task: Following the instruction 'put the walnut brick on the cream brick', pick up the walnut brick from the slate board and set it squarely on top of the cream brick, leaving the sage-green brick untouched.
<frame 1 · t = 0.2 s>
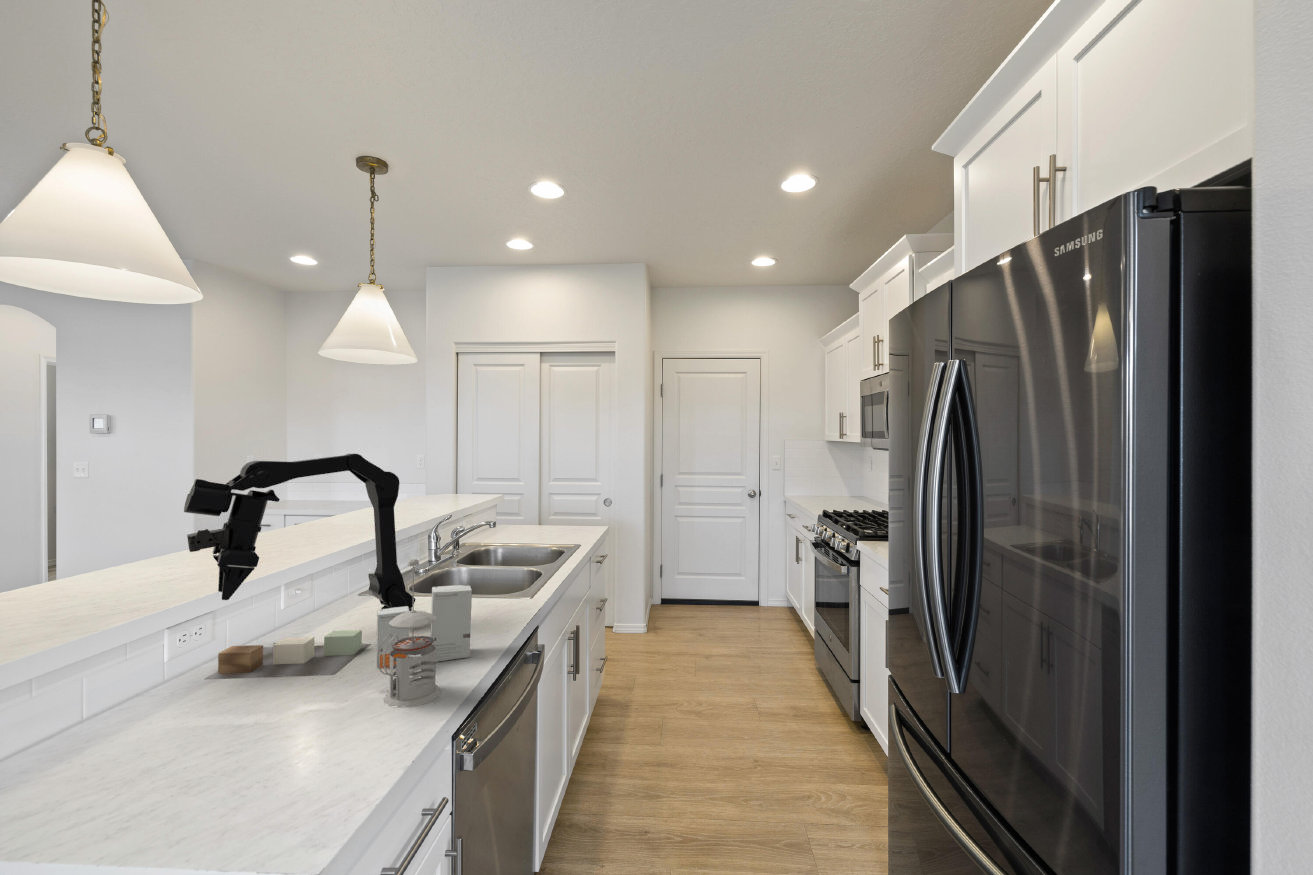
hand: (223, 595, 114), 15 cm above the worktop, tool pointing down, fingers open, 9 cm apart
sage brick: (343, 651, 121), point 1 cm above the worktop, touching slate board
skincare box: (392, 669, 115), on the worktop
walnut brick: (241, 669, 112), point 1 cm above the worktop, touching slate board
french press: (408, 697, 102), on the worktop
cream brick: (294, 660, 117), point 1 cm above the worktop, touching slate board
slate board: (294, 665, 117), on the worktop
skincare box 2: (450, 656, 122), on the worktop
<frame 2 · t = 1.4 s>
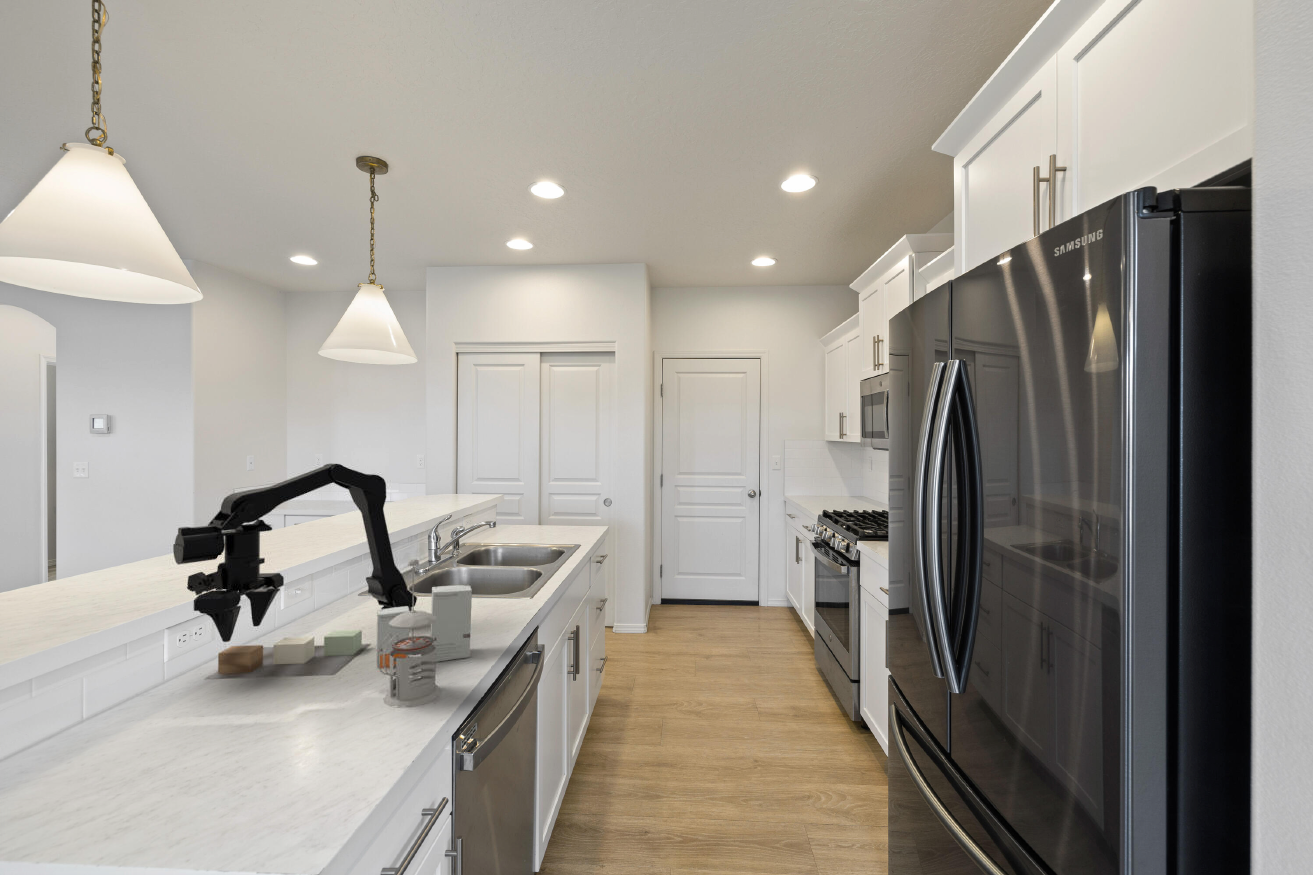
hand: (242, 633, 112), 8 cm above the worktop, tool pointing down, fingers open, 9 cm apart
nothing on the worktop moved.
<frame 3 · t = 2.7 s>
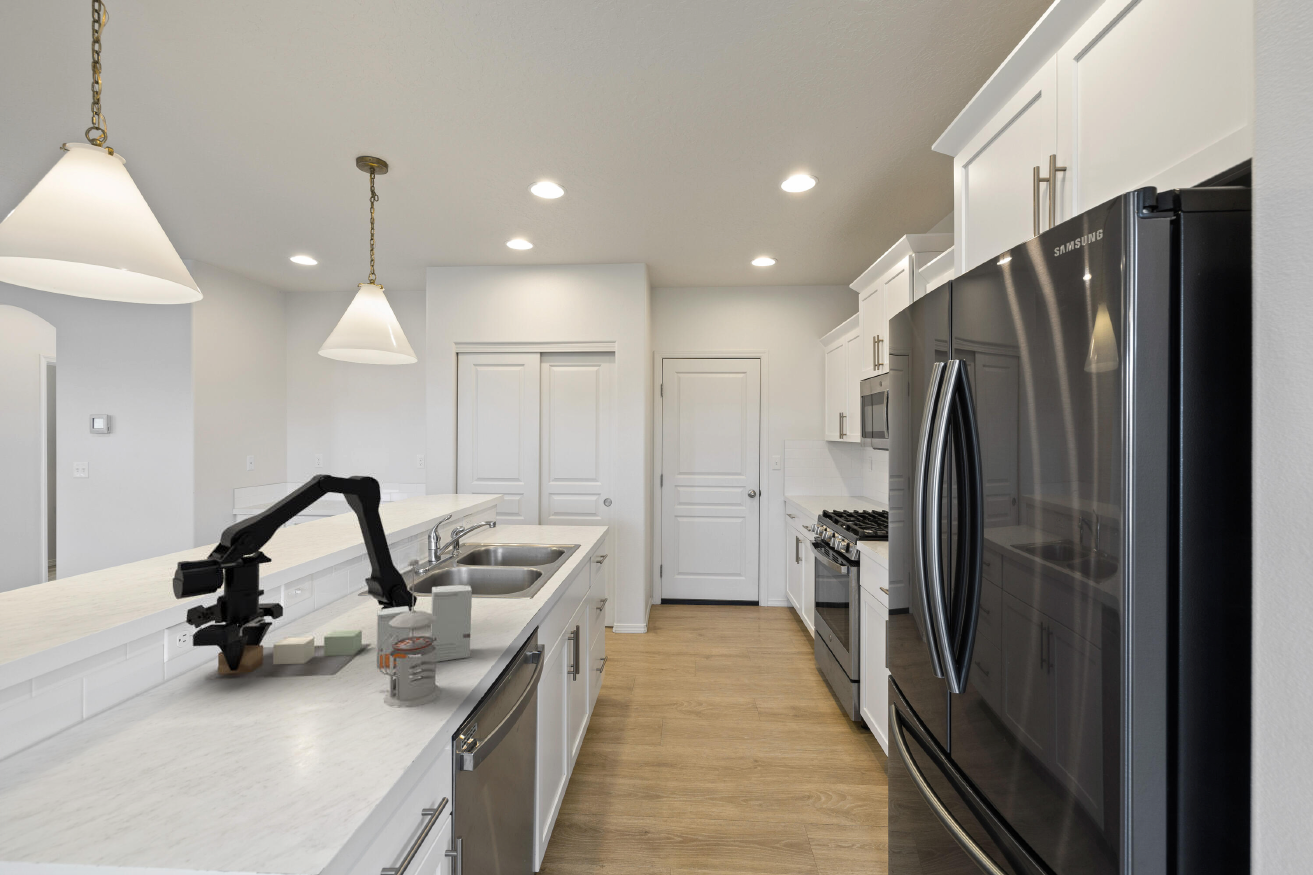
hand: (241, 665, 112), 2 cm above the worktop, tool pointing down, fingers closed on walnut brick, 4 cm apart
walnut brick: (241, 669, 112), point 1 cm above the worktop, touching gripper, slate board
everything else where it was.
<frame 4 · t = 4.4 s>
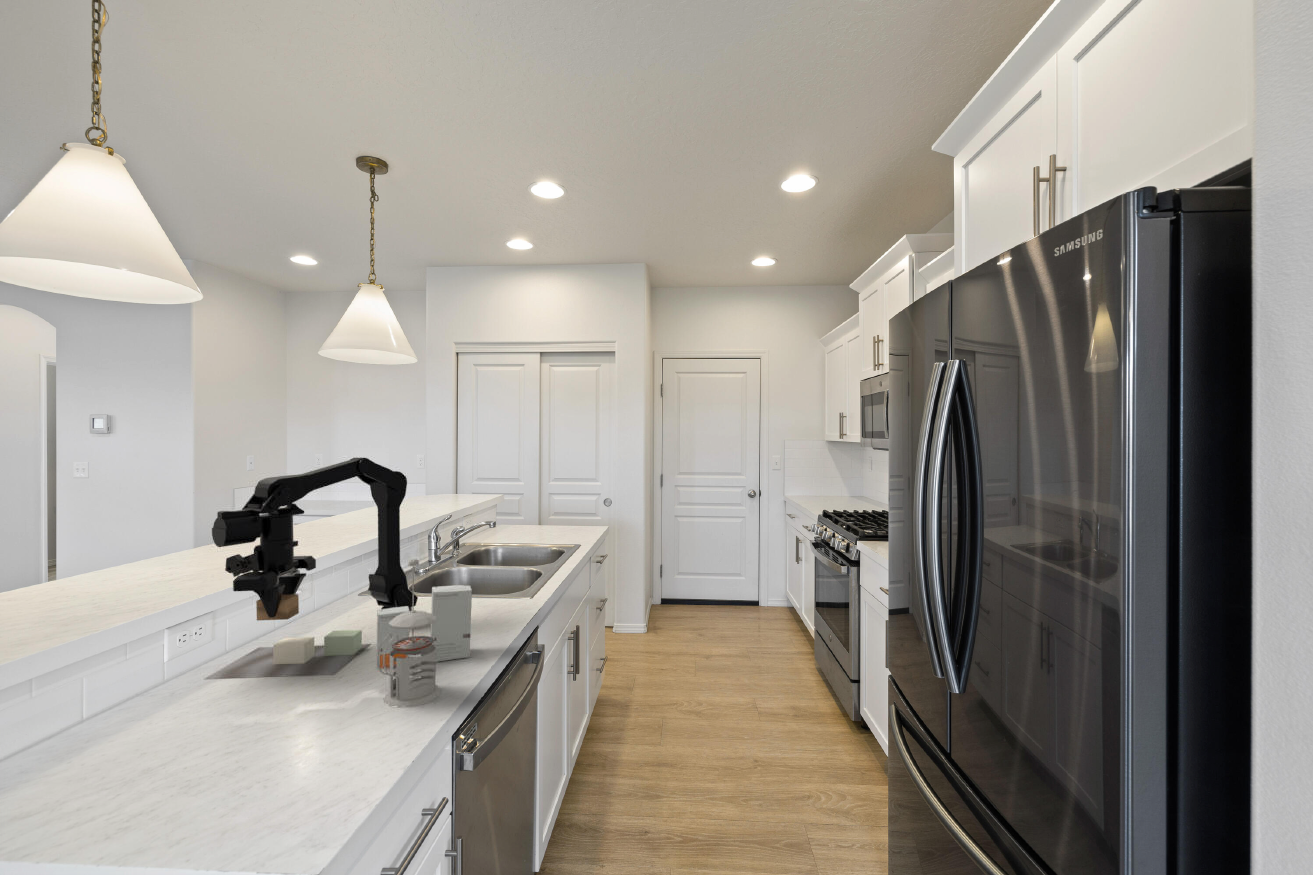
hand: (278, 613, 116), 11 cm above the worktop, tool pointing down, fingers closed on walnut brick, 4 cm apart
walnut brick: (278, 616, 116), point 11 cm above the worktop, touching gripper
everything else where it was.
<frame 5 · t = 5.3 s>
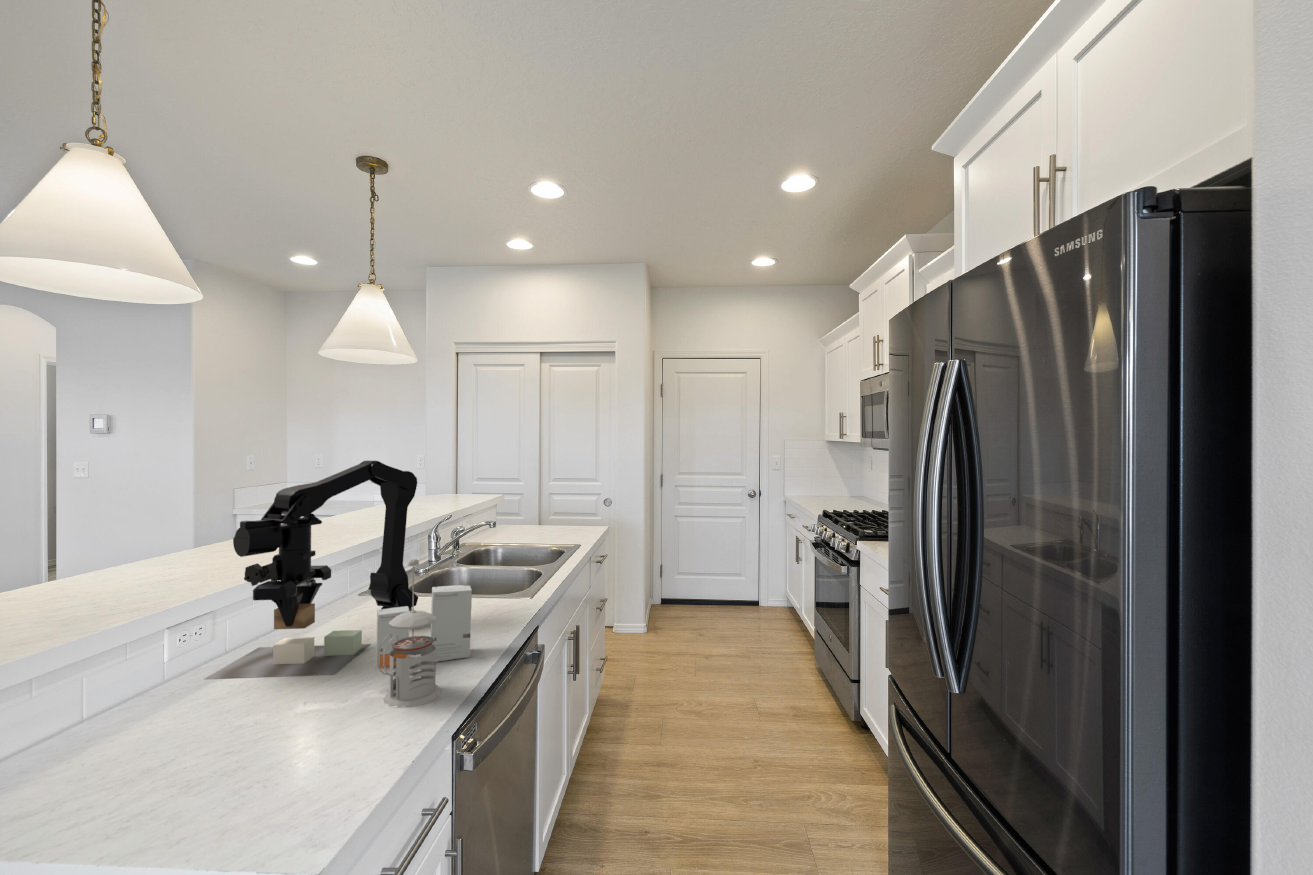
hand: (294, 622, 117), 9 cm above the worktop, tool pointing down, fingers closed on walnut brick, 4 cm apart
walnut brick: (294, 625, 117), point 8 cm above the worktop, touching gripper
everything else where it was.
when the fingers open (7 cm above the worktop, at t = 6.0 s): walnut brick drops 1 cm, resting on cream brick.
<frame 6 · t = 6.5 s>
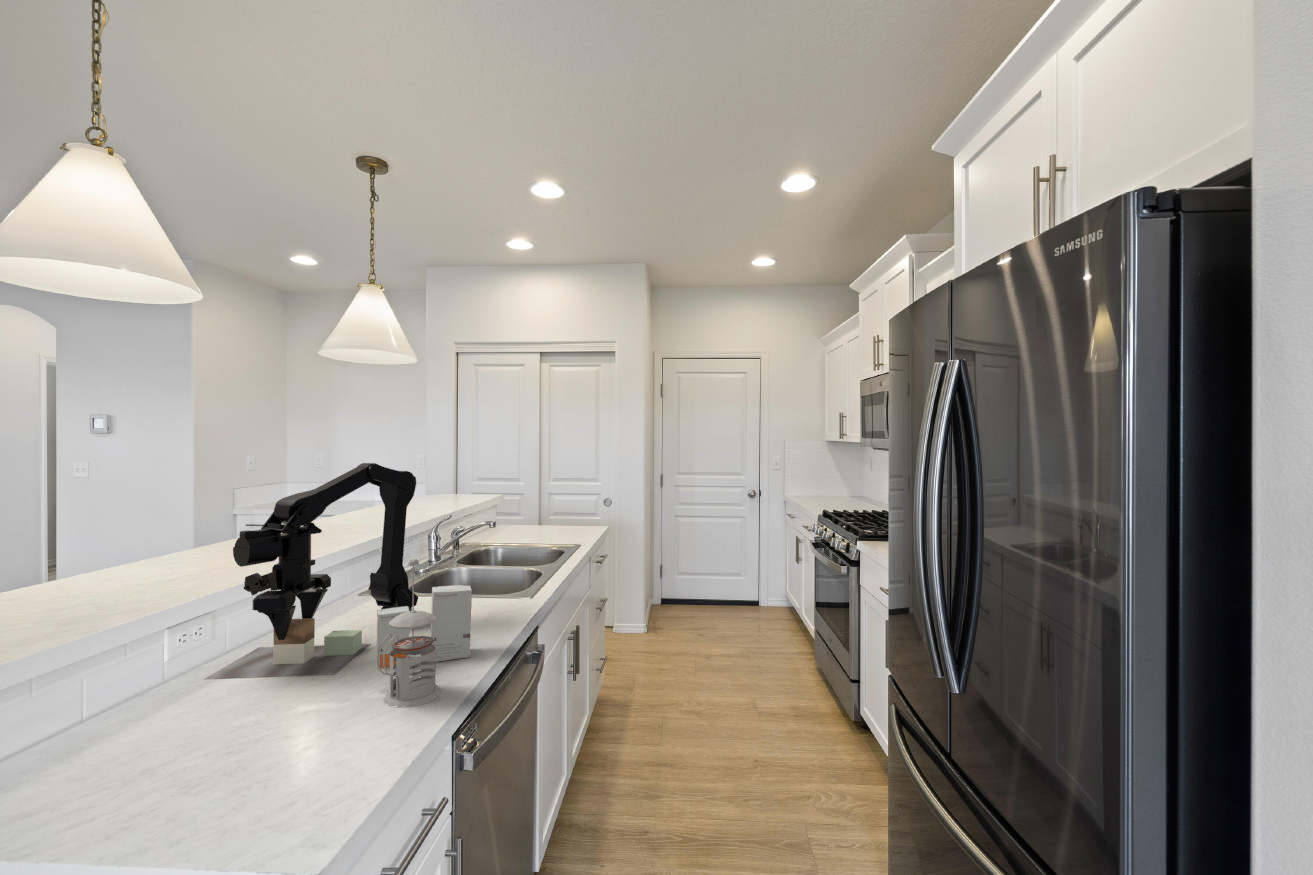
hand: (294, 632, 117), 7 cm above the worktop, tool pointing down, fingers open, 9 cm apart
walnut brick: (294, 640, 117), point 5 cm above the worktop, touching cream brick
cream brick: (294, 660, 117), point 1 cm above the worktop, touching slate board, walnut brick
everything else where it was.
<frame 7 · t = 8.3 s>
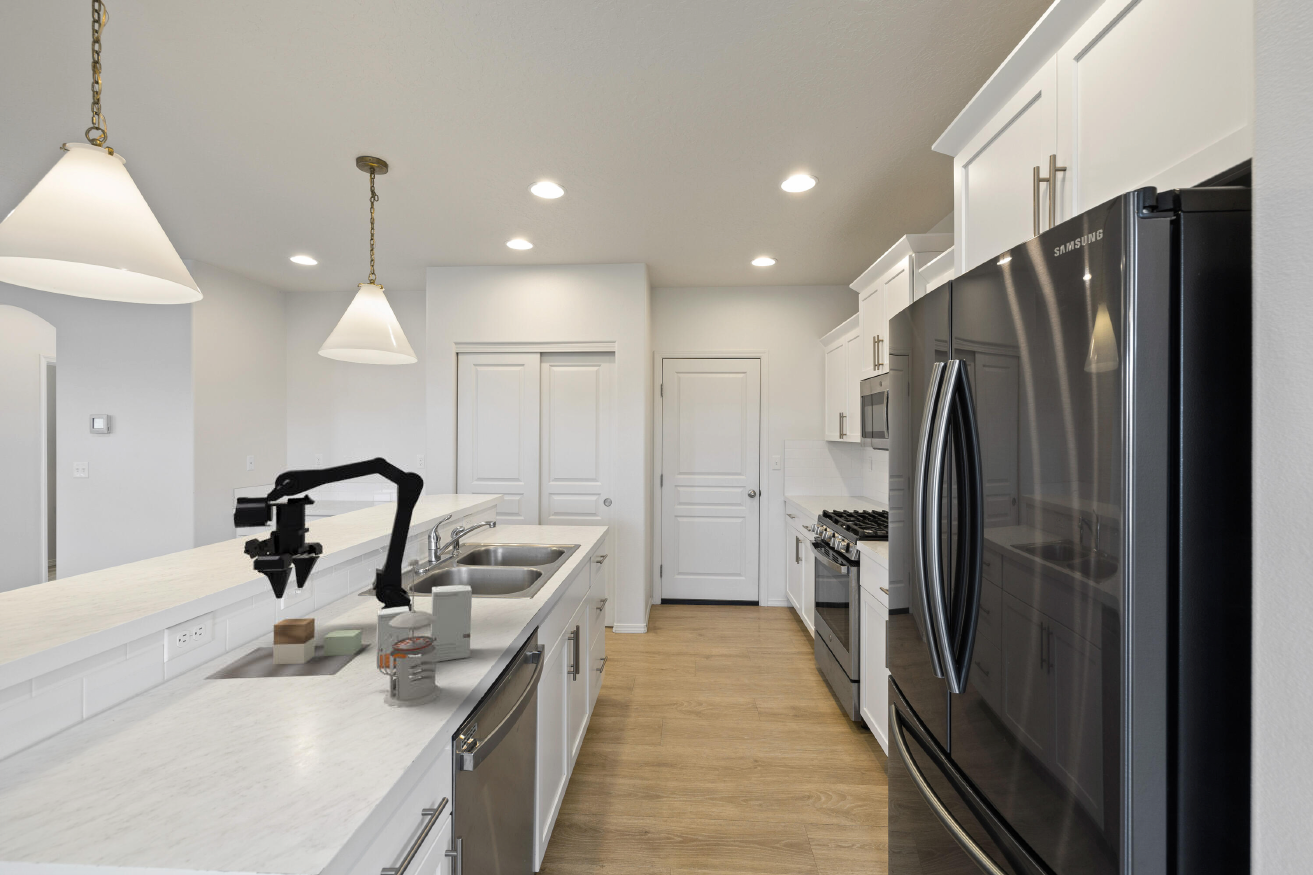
hand: (290, 592, 128), 12 cm above the worktop, tool pointing down, fingers open, 9 cm apart
nothing on the worktop moved.
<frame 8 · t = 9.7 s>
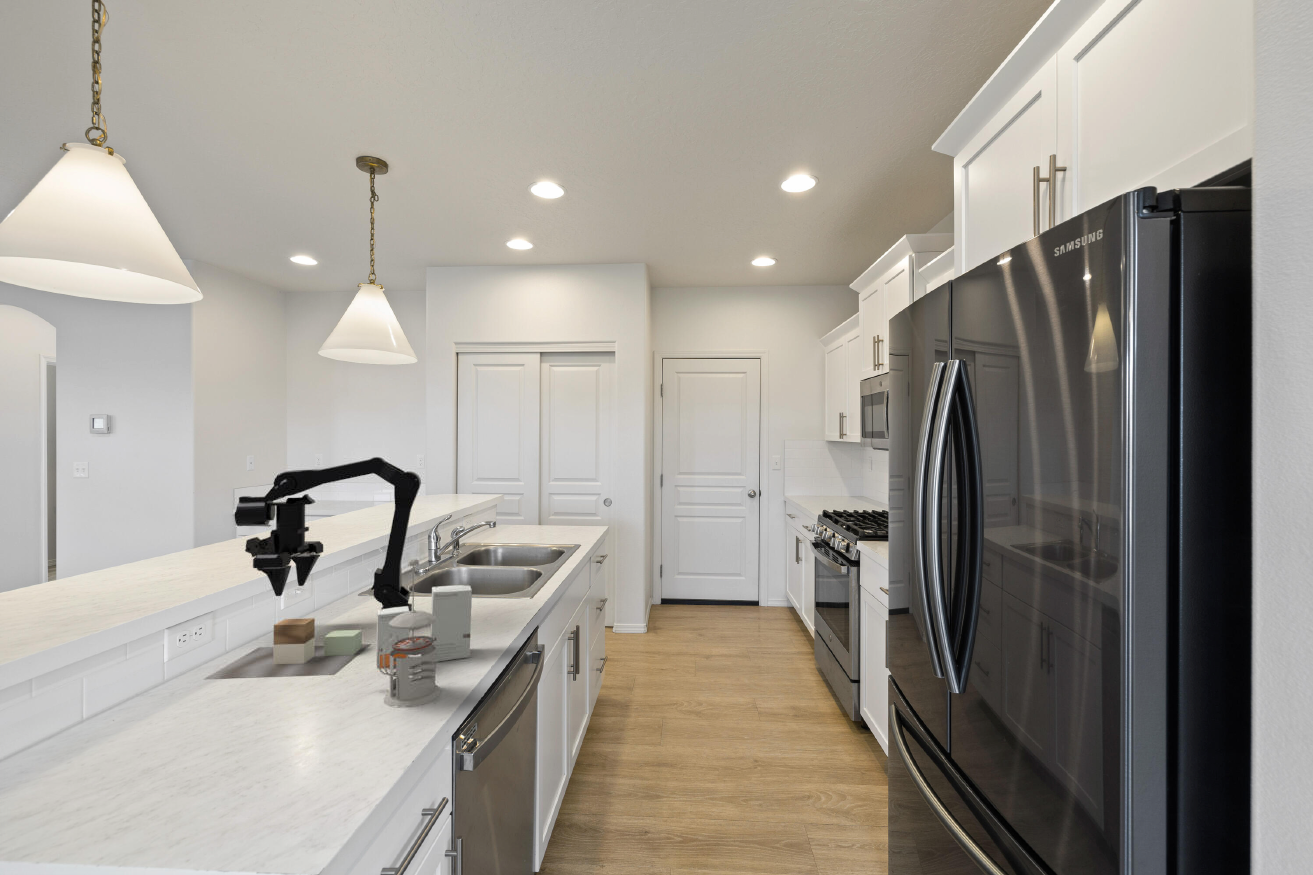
hand: (290, 590, 131), 12 cm above the worktop, tool pointing down, fingers open, 9 cm apart
nothing on the worktop moved.
at the end: walnut brick 0.0 cm off-centre on the cream brick, point 4.0 cm above the cream brick's base; sage brick moved 0.0 cm from its start; cream brick moved 0.0 cm from its start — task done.
